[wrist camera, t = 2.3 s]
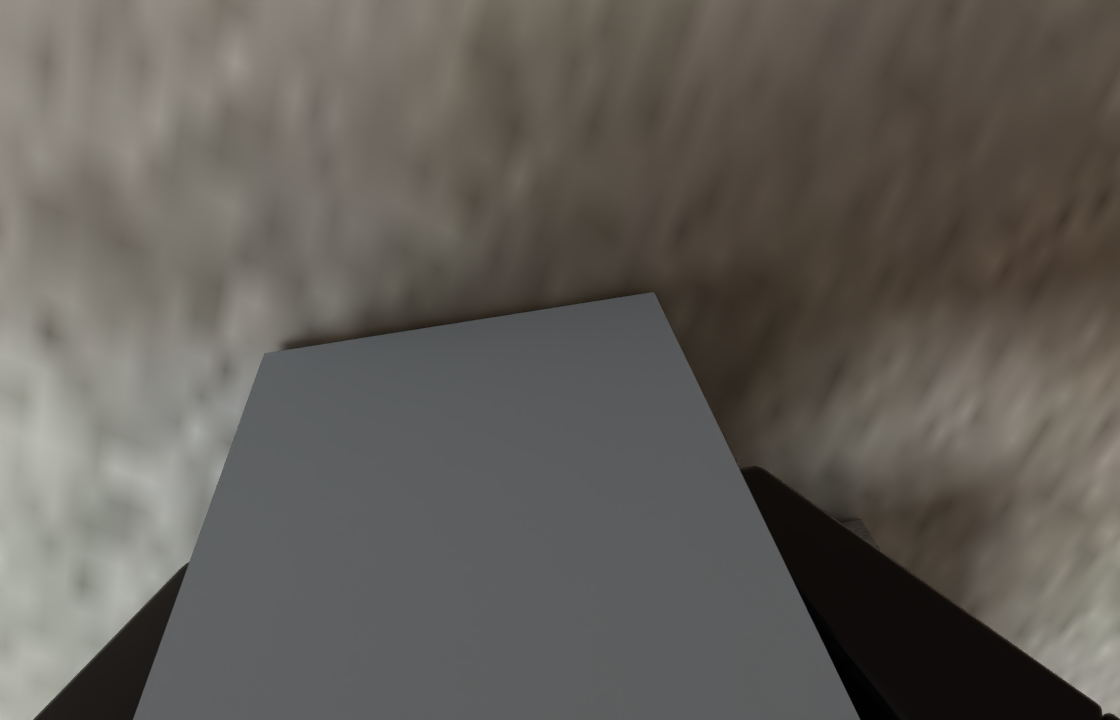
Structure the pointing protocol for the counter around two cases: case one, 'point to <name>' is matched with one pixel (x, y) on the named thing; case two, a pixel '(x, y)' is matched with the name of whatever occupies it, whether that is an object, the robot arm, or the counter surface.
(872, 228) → the counter surface
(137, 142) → the counter surface
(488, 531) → the handle
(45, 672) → the counter surface
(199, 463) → the counter surface
